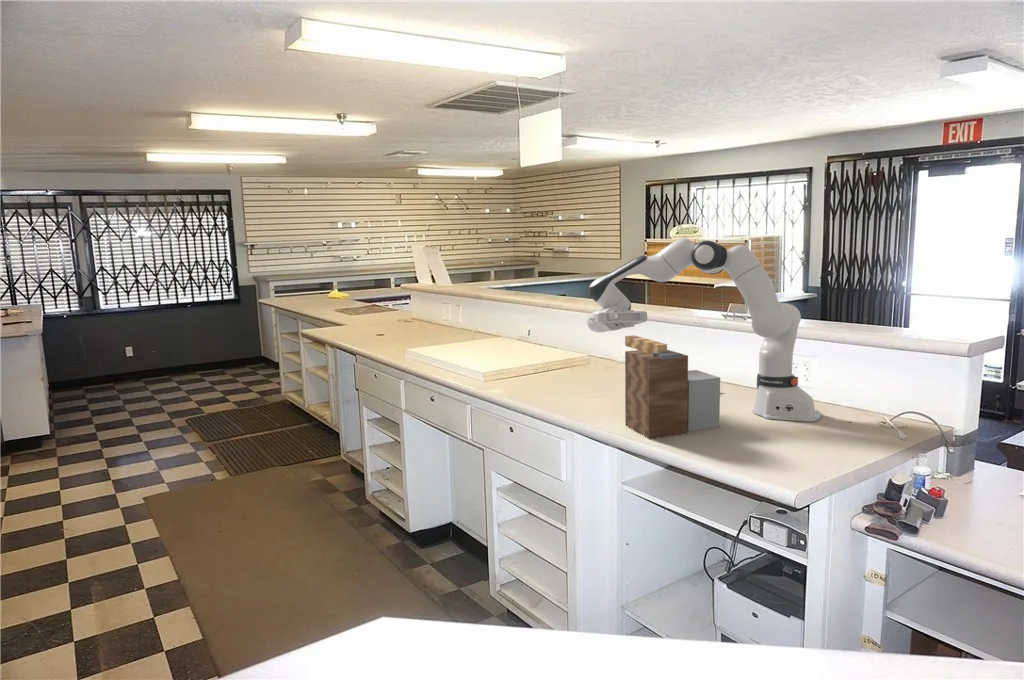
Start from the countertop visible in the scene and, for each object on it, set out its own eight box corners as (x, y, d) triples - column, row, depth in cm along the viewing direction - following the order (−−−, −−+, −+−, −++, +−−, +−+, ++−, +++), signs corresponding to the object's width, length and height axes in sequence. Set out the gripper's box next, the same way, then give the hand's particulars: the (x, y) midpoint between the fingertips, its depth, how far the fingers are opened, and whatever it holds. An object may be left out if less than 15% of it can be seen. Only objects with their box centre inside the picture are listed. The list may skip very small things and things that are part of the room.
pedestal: (625, 426, 226) (625, 351, 222) (661, 421, 231) (661, 348, 227) (649, 439, 211) (649, 359, 207) (687, 433, 216) (688, 355, 212)
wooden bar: (620, 346, 233) (620, 336, 232) (638, 344, 235) (638, 334, 234) (662, 359, 207) (662, 348, 206) (681, 357, 209) (682, 346, 208)
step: (665, 420, 232) (666, 373, 229) (695, 416, 235) (696, 369, 233) (688, 431, 219) (688, 380, 216) (719, 427, 222) (720, 377, 220)
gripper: (586, 311, 246) (603, 307, 233) (635, 310, 252) (654, 306, 239) (587, 328, 245) (604, 325, 232) (636, 326, 252) (655, 323, 239)
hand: (630, 315), depth 236 cm, fingers open, 8 cm apart
